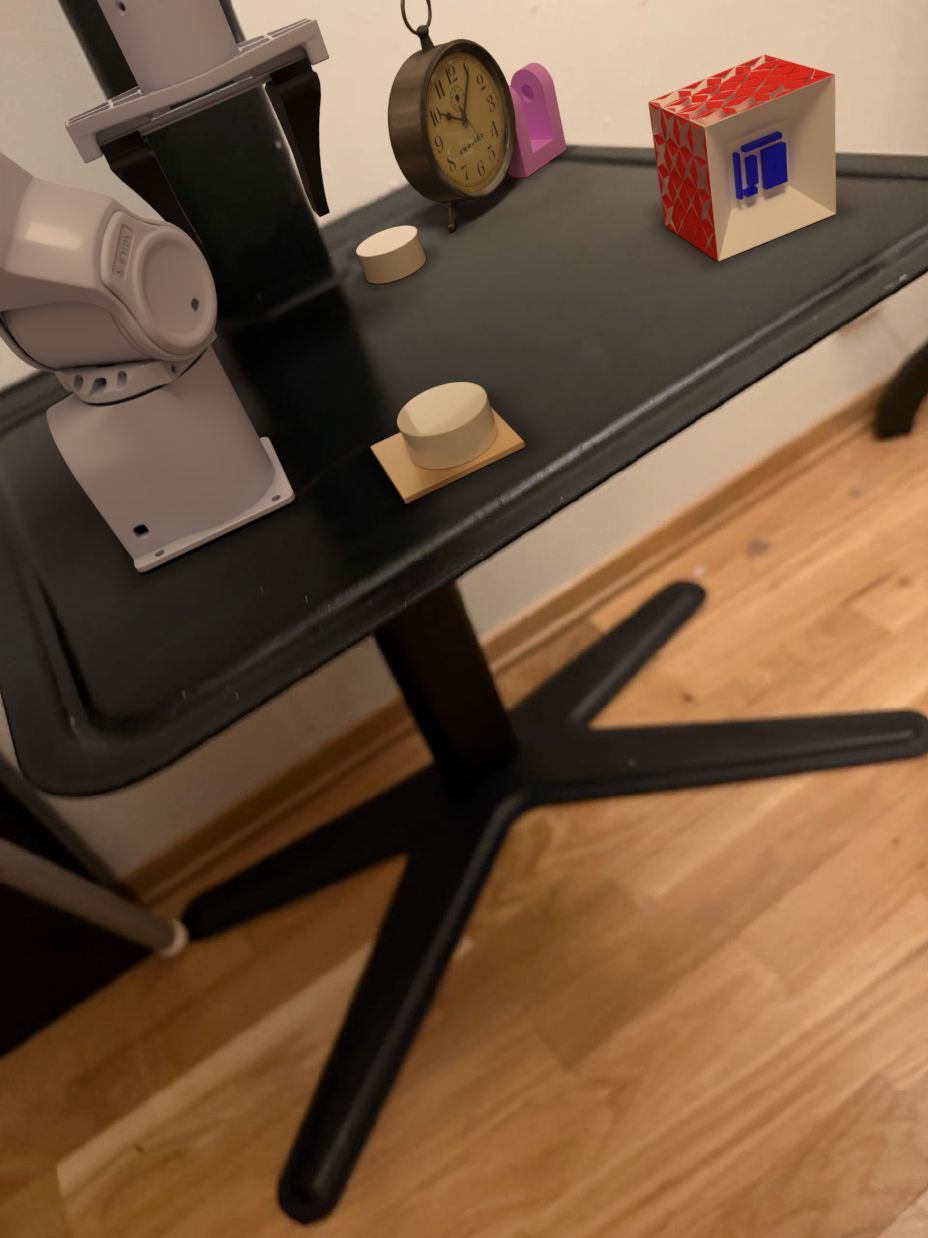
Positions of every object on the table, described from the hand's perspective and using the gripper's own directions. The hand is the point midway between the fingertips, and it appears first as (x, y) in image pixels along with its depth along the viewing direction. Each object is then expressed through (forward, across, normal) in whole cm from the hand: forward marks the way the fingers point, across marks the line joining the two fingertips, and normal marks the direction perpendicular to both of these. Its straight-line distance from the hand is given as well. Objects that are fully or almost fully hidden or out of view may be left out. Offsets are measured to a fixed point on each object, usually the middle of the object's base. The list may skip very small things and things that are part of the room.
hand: (263, 237), depth 54 cm
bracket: (+10, -23, -26) cm, 36 cm away
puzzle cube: (+10, -29, +6) cm, 31 cm away
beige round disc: (+10, -9, -12) cm, 18 cm away
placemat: (+9, -4, +16) cm, 18 cm away
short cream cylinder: (+9, -4, +16) cm, 19 cm away
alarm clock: (+10, -18, -18) cm, 27 cm away
